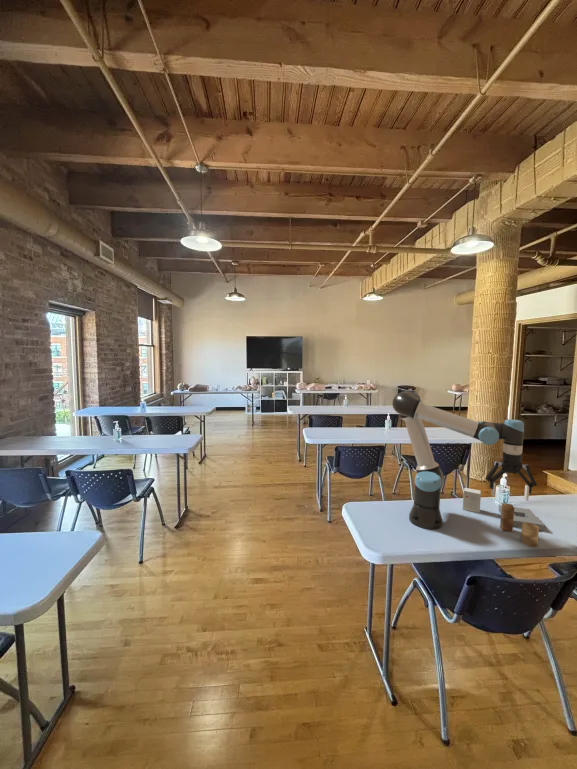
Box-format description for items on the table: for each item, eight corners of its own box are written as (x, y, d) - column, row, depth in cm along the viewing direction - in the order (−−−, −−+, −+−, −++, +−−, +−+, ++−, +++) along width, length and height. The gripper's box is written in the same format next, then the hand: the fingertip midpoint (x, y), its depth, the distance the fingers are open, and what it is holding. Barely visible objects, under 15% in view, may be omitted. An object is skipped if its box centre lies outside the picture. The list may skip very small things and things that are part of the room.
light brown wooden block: (523, 545, 146) (525, 527, 145) (518, 538, 152) (520, 521, 151) (539, 548, 144) (541, 529, 144) (534, 541, 150) (535, 523, 149)
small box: (479, 509, 181) (481, 490, 180) (479, 513, 176) (480, 493, 175) (463, 505, 185) (464, 487, 184) (462, 509, 180) (463, 490, 179)
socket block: (509, 526, 163) (510, 520, 163) (498, 510, 180) (498, 505, 180) (543, 531, 159) (544, 525, 159) (528, 514, 176) (529, 509, 176)
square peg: (502, 531, 158) (504, 506, 157) (499, 527, 162) (501, 502, 161) (512, 532, 157) (514, 507, 156) (509, 528, 161) (511, 504, 160)
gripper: (484, 452, 156) (481, 496, 158) (547, 458, 149) (544, 504, 151) (480, 448, 164) (477, 491, 165) (540, 453, 156) (537, 498, 158)
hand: (509, 497), depth 158 cm, fingers open, 13 cm apart
